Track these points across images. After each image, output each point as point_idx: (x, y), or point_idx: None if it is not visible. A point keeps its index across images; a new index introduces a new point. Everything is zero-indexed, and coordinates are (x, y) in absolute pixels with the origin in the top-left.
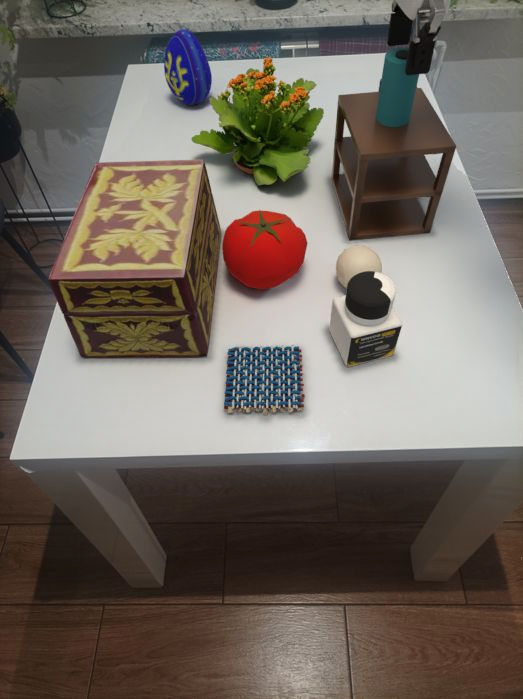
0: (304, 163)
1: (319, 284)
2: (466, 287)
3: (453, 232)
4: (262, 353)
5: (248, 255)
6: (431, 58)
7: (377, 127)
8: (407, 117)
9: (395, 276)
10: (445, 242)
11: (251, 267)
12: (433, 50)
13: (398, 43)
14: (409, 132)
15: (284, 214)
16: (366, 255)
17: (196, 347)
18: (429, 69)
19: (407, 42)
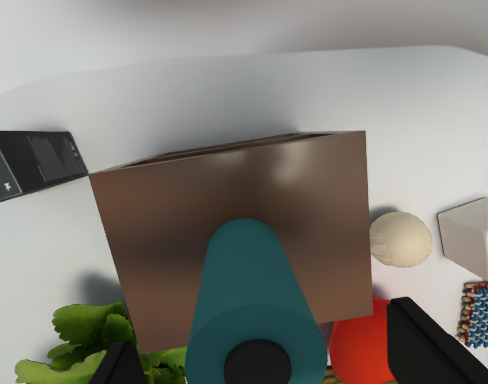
0: None
1: (379, 266)
2: (402, 100)
3: (299, 98)
4: (481, 320)
5: None
6: (447, 334)
7: None
8: (272, 233)
9: (375, 184)
10: (319, 113)
11: None
12: (475, 361)
13: (141, 379)
14: (303, 223)
15: (365, 352)
16: (423, 244)
17: None
18: (413, 301)
19: (134, 351)
